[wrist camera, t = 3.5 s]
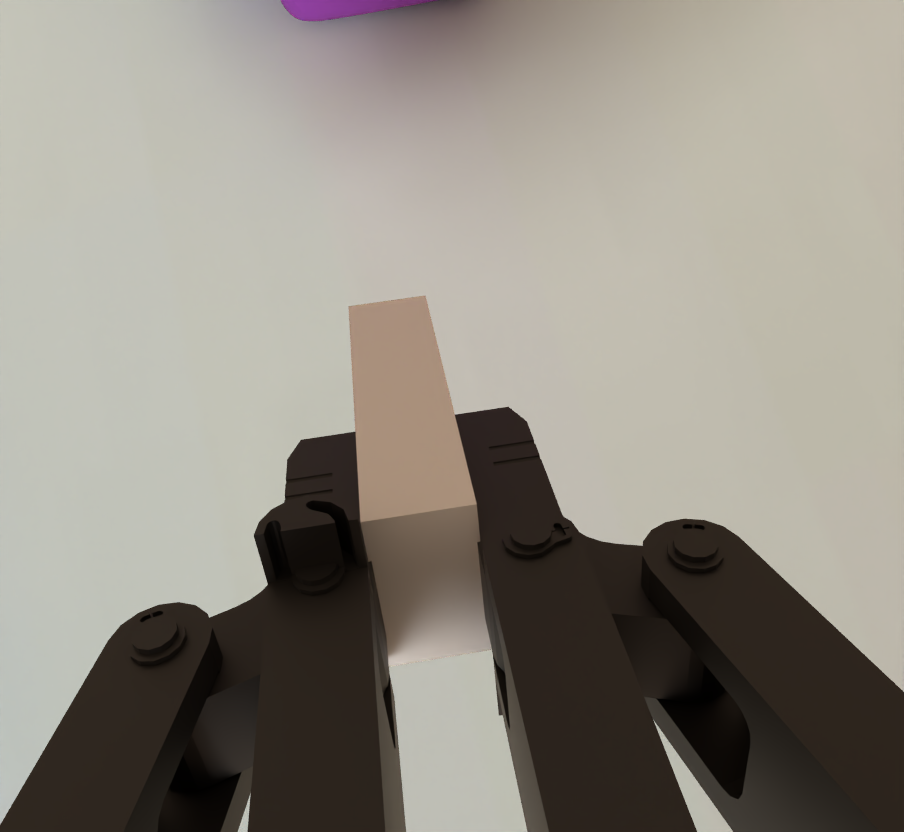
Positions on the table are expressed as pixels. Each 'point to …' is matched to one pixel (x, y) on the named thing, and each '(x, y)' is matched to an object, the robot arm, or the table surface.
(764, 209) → the table surface
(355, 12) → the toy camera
